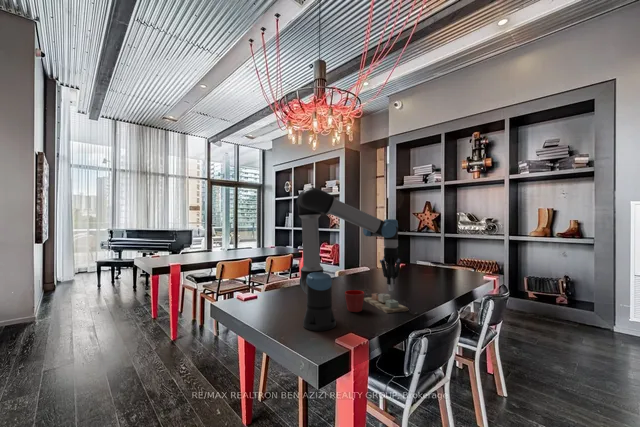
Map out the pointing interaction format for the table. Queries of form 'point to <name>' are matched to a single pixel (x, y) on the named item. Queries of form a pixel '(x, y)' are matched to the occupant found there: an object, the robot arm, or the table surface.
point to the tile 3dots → (375, 296)
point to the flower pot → (354, 300)
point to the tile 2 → (391, 303)
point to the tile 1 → (384, 297)
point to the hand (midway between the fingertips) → (390, 290)
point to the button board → (383, 306)
